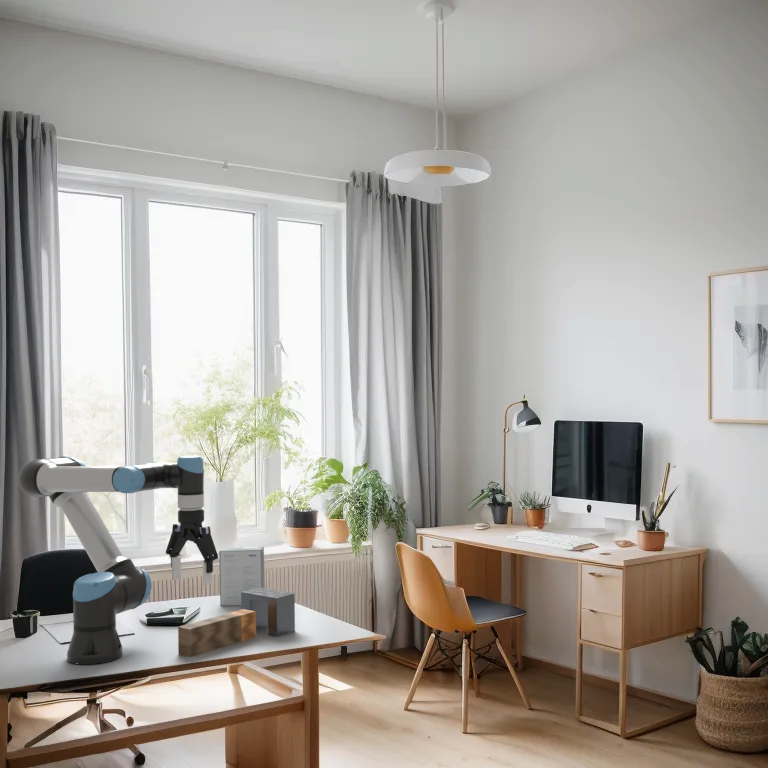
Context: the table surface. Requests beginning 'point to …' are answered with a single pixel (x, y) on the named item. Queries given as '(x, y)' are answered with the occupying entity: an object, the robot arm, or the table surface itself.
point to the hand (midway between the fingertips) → (191, 581)
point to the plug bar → (216, 632)
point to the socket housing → (271, 609)
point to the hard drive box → (240, 572)
